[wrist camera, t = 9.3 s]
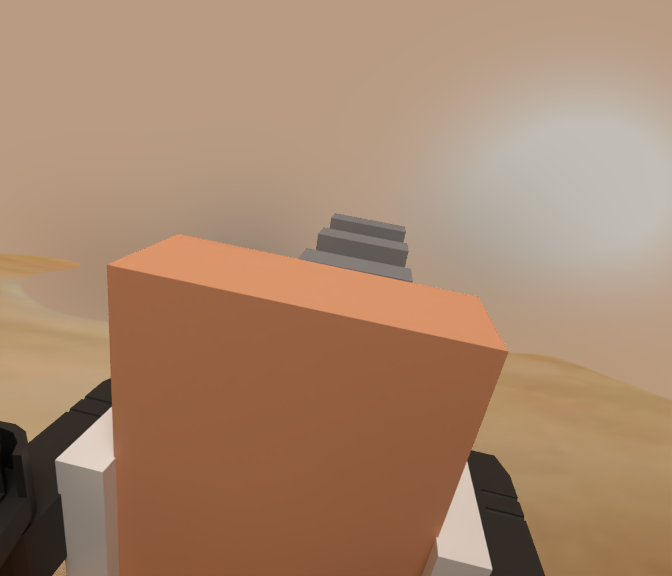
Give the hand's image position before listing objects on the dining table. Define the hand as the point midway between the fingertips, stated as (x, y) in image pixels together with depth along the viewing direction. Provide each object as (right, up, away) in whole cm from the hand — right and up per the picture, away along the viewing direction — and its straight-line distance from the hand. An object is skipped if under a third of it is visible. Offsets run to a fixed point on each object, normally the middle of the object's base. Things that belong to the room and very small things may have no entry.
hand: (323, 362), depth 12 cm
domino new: (-2, -8, -3) cm, 8 cm away
